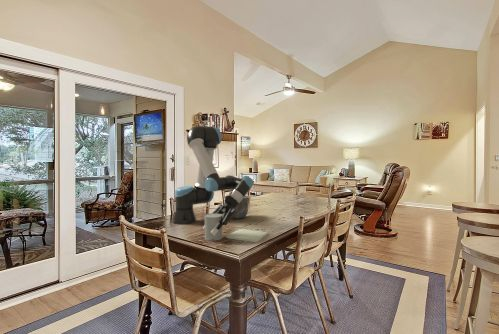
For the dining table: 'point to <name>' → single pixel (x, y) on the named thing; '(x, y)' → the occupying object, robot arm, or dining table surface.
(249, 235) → the sage placemat
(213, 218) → the light grey cylinder
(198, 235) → the dining table surface
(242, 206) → the grey round pot
